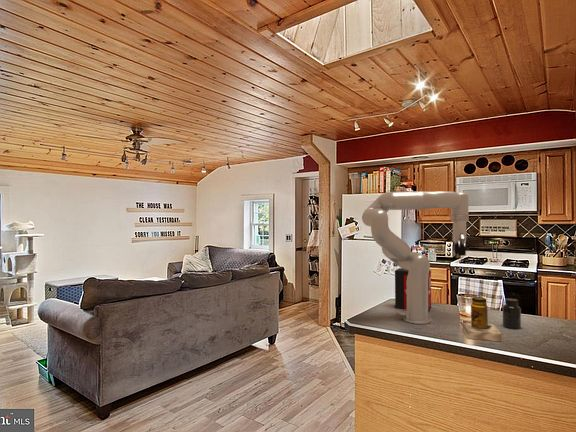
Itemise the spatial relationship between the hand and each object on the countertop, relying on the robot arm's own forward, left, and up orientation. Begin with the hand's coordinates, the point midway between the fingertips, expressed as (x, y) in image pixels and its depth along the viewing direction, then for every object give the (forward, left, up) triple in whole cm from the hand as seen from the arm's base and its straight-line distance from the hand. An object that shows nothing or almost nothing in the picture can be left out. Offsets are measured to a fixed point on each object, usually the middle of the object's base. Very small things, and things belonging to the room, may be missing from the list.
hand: (460, 254), depth 175 cm
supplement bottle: (+19, -10, -31) cm, 37 cm away
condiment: (+4, -24, -27) cm, 37 cm away
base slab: (+4, -25, -30) cm, 39 cm away
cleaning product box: (-21, +12, -31) cm, 39 cm away
